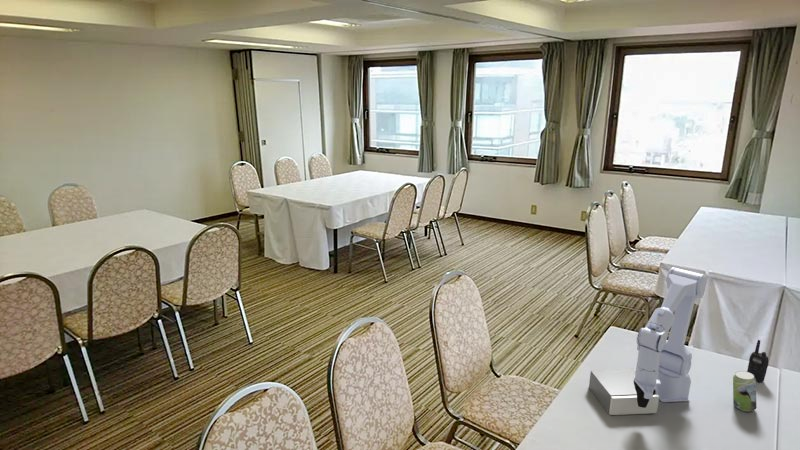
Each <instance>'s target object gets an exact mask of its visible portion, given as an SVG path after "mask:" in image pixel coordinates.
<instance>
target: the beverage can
mask: <svg viewBox="0 0 800 450" xmlns="http://www.w3.org/2000/svg"><path fill="white" fill-rule="evenodd" d="M732 376H733V377H732V395H733V396H732V401H733V402H732V403H733V406H734V407H736V408H737V409H739V410H740V411H743V412H752V411H754V410H756V409H757V381H756V379H755V377H754V375H753V374H752V373H749V372H747V370H746V371H745V370H739V371H736V372H735V373H734V374H733V375H732Z"/></svg>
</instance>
